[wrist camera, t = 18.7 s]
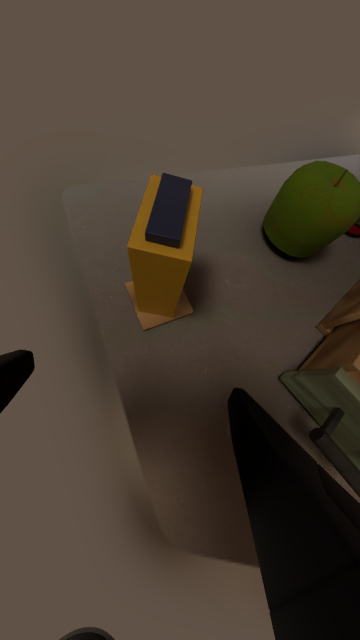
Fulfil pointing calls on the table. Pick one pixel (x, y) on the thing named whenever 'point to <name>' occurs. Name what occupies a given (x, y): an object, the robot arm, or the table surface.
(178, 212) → the holder
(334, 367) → the drawer
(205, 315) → the table surface
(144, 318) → the coaster
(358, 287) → the cabinet
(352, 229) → the beverage can
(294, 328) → the table surface
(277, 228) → the apple
